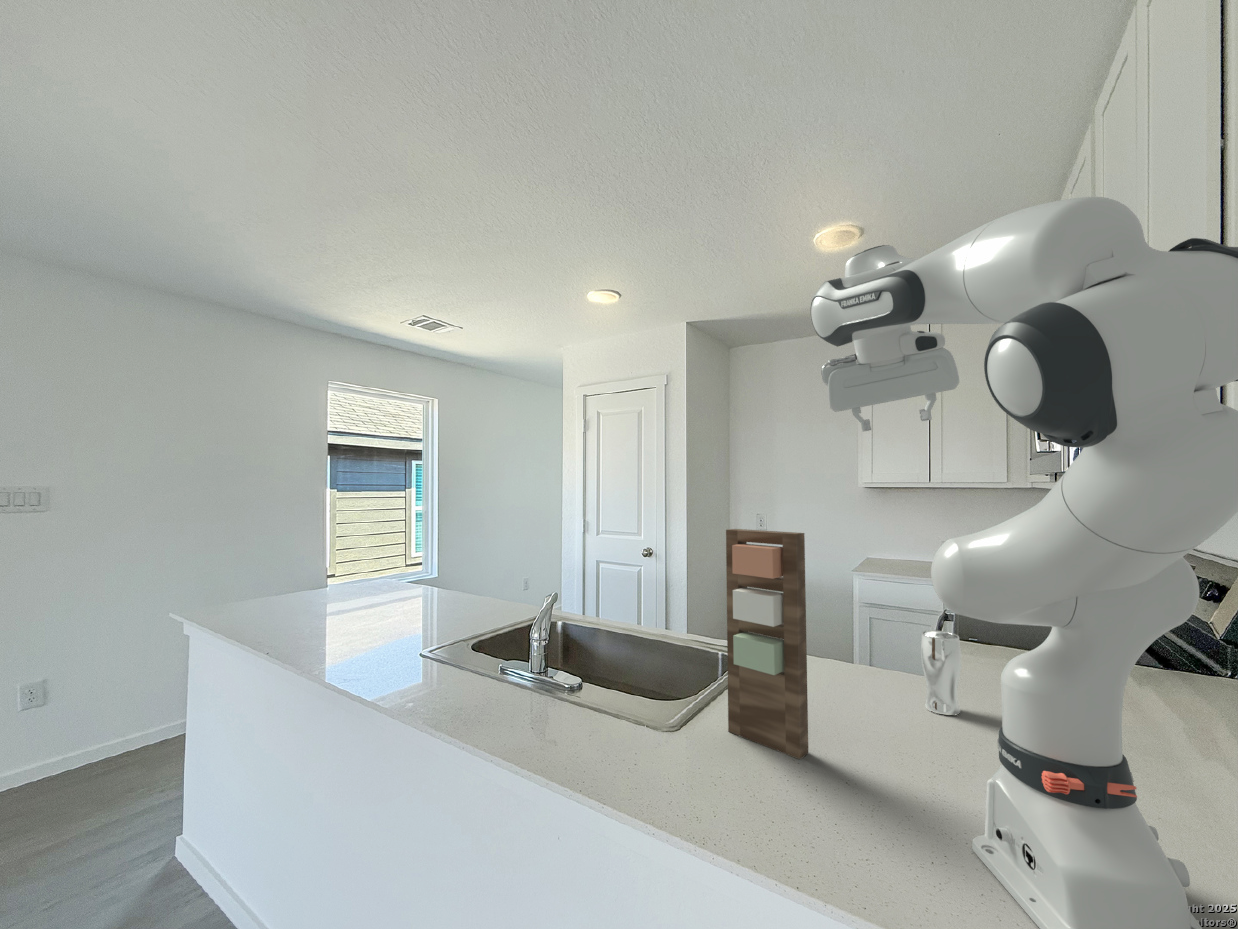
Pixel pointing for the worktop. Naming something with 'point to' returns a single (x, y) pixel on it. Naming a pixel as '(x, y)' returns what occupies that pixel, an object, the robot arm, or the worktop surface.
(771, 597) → the cream key
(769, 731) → the key panel
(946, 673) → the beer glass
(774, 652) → the sage key
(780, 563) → the terracotta key
